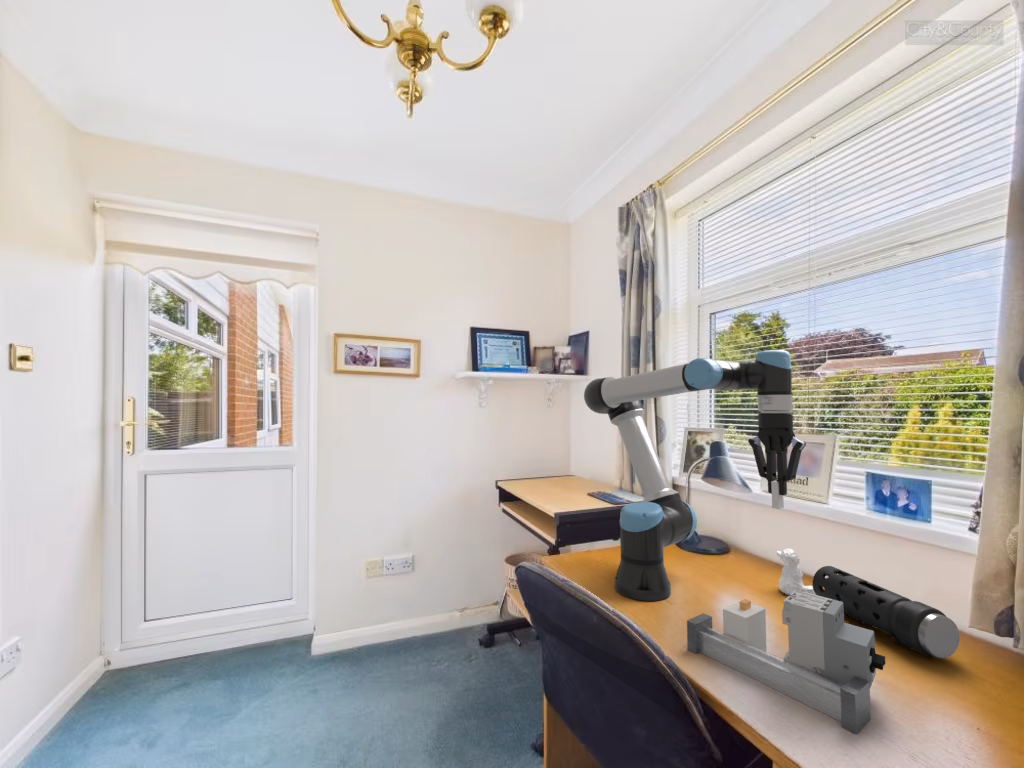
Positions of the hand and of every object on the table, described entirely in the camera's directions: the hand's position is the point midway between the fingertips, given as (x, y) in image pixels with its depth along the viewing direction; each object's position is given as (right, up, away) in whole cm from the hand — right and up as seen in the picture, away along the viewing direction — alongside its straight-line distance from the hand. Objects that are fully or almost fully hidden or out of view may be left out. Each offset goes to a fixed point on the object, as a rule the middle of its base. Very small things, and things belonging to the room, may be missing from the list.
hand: (777, 507), depth 112 cm
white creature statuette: (+12, -27, +13) cm, 33 cm away
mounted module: (-17, -26, -17) cm, 35 cm away
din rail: (-18, -25, -27) cm, 41 cm away
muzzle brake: (+18, -26, -8) cm, 33 cm away
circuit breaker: (-7, -25, -30) cm, 40 cm away
